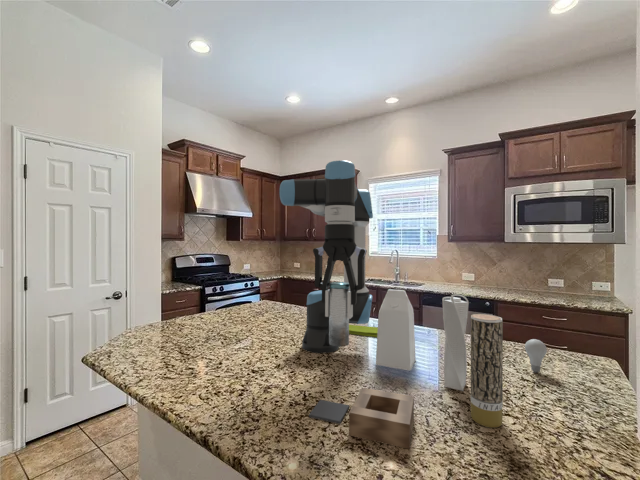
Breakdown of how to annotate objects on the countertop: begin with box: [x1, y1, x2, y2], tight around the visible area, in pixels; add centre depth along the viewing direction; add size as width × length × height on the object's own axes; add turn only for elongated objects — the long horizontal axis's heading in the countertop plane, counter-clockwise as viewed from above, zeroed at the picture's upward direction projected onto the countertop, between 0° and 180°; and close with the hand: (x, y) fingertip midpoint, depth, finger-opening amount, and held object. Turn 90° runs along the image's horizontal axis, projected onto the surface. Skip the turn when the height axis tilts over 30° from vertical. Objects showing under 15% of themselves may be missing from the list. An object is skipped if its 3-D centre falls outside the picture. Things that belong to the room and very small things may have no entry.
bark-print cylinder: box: [470, 313, 504, 429], centre depth 76 cm, size 7×7×25 cm
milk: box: [375, 289, 417, 372], centre depth 113 cm, size 12×12×26 cm
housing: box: [348, 387, 415, 450], centre depth 73 cm, size 13×13×5 cm
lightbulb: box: [524, 338, 548, 373], centre depth 105 cm, size 6×6×11 cm
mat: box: [308, 399, 350, 425], centre depth 79 cm, size 8×8×1 cm
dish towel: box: [349, 324, 378, 339], centre depth 155 cm, size 15×36×3 cm, turn 67°
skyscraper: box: [442, 293, 470, 392], centre depth 95 cm, size 8×8×28 cm
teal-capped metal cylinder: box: [328, 281, 350, 348], centre depth 79 cm, size 5×5×15 cm
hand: (339, 316), depth 79 cm, fingers closed on teal-capped metal cylinder, 5 cm apart
